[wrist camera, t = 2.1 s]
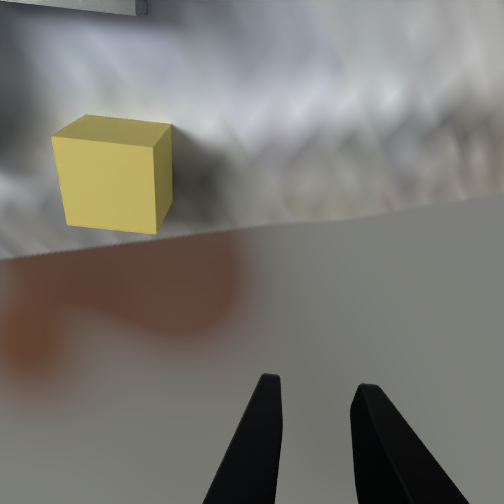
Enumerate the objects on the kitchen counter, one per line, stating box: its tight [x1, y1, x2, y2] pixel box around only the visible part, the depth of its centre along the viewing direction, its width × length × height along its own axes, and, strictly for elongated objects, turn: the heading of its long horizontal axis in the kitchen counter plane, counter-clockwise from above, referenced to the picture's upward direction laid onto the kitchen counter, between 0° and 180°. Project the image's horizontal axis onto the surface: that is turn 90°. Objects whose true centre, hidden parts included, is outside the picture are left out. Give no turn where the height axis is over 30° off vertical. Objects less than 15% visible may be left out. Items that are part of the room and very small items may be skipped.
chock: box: [51, 114, 173, 235], centre depth 18 cm, size 4×4×4 cm
